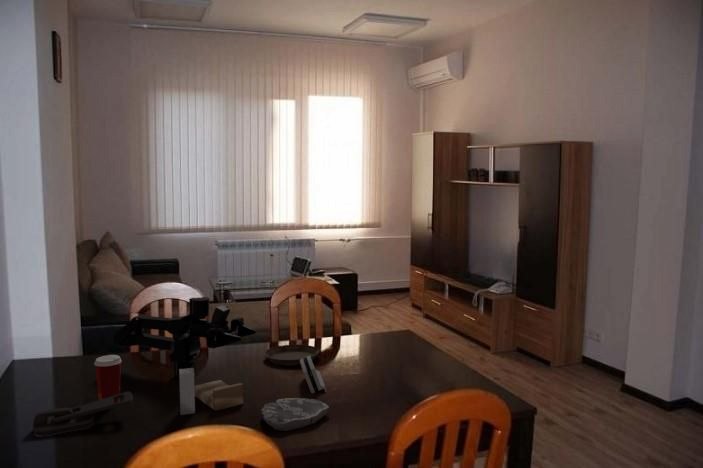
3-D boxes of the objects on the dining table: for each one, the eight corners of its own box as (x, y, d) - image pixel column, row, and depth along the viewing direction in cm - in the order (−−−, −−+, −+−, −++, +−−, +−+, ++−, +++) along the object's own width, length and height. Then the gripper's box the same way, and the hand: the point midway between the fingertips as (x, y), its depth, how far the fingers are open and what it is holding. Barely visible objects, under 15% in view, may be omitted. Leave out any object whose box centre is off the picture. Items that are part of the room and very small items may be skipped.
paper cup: (128, 400, 177) (127, 355, 176) (110, 409, 170) (109, 363, 168) (108, 397, 179) (106, 353, 178) (89, 406, 172) (87, 360, 171)
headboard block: (193, 395, 181) (193, 376, 181) (220, 388, 187) (220, 370, 186) (215, 410, 169) (214, 390, 168) (243, 403, 174) (242, 384, 174)
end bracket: (180, 411, 168) (179, 369, 167) (194, 409, 170) (193, 367, 169) (180, 417, 164) (179, 374, 163) (195, 415, 165) (194, 373, 164)
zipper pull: (133, 400, 160) (30, 414, 149) (134, 423, 160) (31, 439, 150) (131, 389, 168) (33, 403, 158) (132, 411, 168) (34, 426, 158)
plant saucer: (253, 360, 218) (253, 352, 217) (293, 348, 233) (292, 340, 233) (291, 372, 204) (291, 362, 204) (330, 358, 220) (330, 350, 220)
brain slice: (297, 402, 176) (297, 392, 176) (337, 417, 164) (337, 407, 164) (244, 421, 162) (244, 410, 162) (283, 439, 150) (283, 428, 150)
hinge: (327, 392, 184) (316, 364, 182) (313, 398, 183) (302, 369, 182) (321, 375, 200) (311, 349, 199) (308, 380, 199) (298, 354, 198)
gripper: (191, 311, 185) (233, 317, 179) (223, 300, 202) (262, 305, 197) (190, 345, 186) (233, 352, 181) (222, 331, 203) (262, 337, 198)
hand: (248, 335), depth 189 cm, fingers open, 9 cm apart
